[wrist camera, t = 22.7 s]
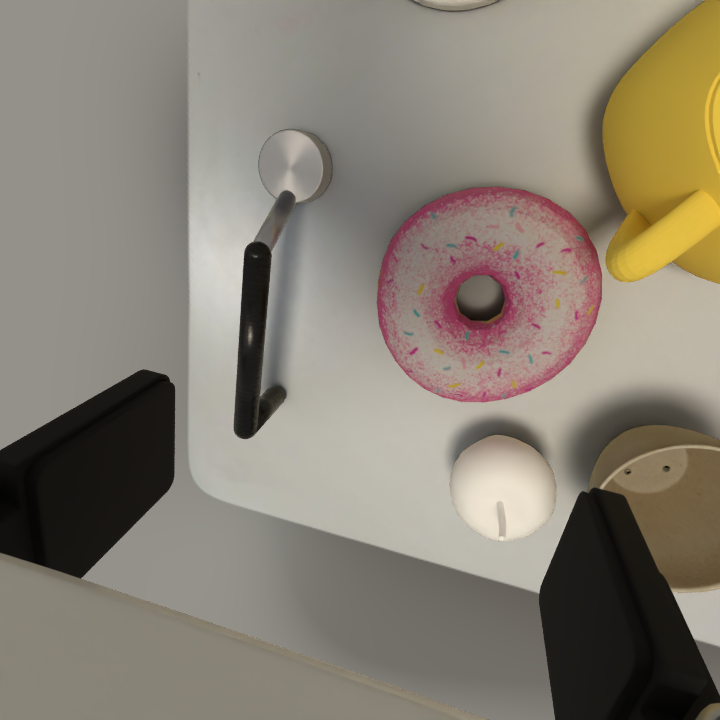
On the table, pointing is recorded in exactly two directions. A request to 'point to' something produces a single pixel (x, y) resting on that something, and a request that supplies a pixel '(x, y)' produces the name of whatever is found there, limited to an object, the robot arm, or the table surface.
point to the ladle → (289, 186)
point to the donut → (519, 284)
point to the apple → (503, 488)
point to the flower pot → (670, 498)
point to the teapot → (668, 153)
